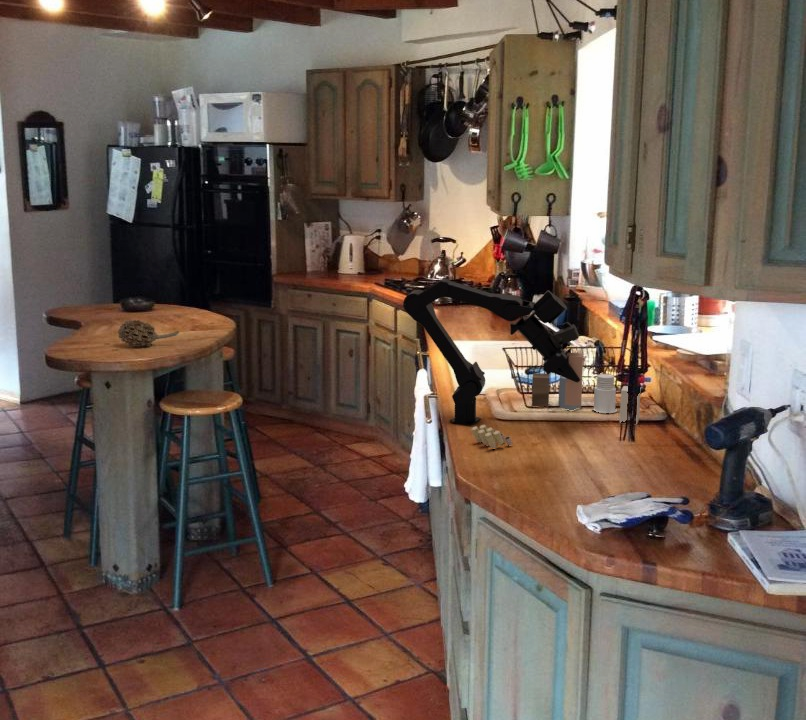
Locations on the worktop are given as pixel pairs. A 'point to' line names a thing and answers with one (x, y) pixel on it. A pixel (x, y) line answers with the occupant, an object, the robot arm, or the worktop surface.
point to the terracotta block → (573, 388)
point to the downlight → (605, 394)
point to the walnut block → (540, 389)
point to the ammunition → (490, 436)
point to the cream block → (624, 405)
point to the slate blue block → (562, 395)
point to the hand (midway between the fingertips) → (579, 379)
